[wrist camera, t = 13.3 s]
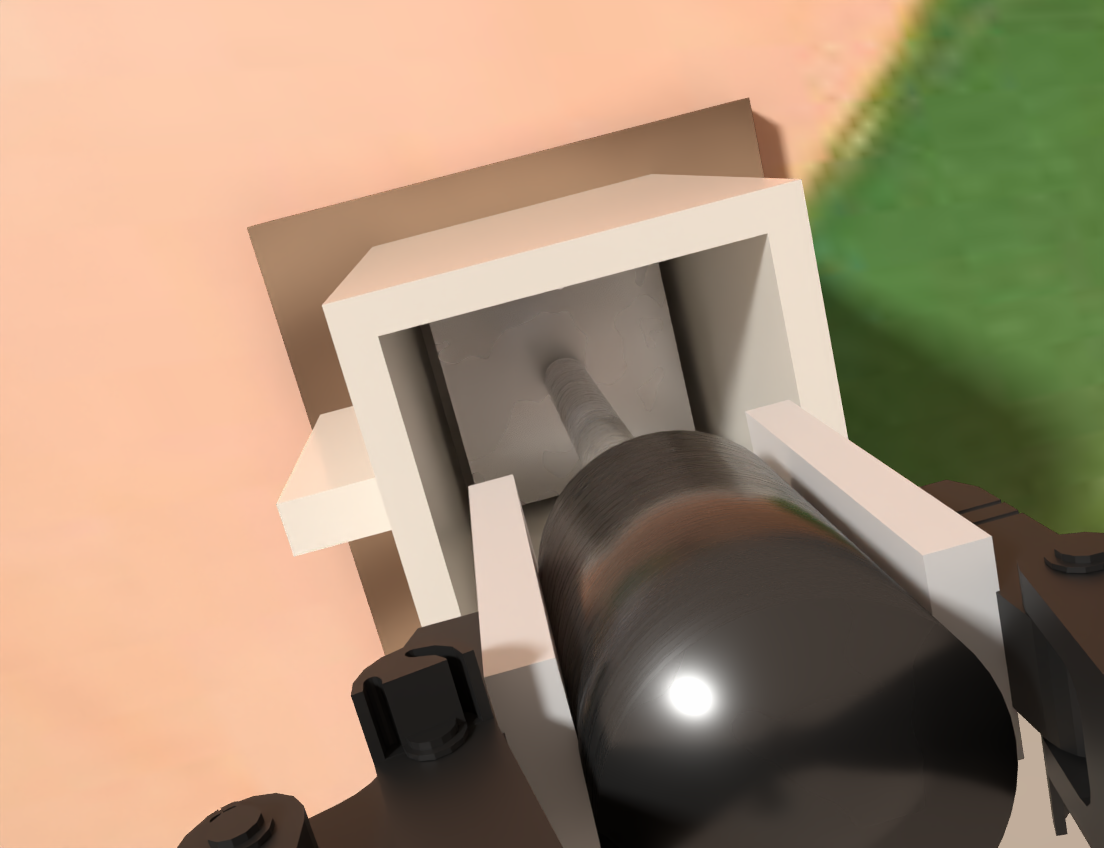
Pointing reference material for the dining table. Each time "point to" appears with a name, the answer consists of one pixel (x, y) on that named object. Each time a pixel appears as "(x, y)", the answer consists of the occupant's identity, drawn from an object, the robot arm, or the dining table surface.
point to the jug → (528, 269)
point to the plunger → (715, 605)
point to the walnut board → (358, 225)
